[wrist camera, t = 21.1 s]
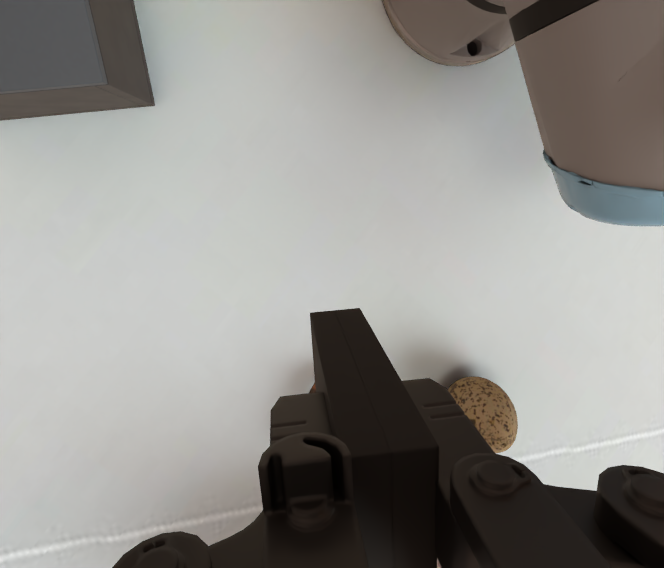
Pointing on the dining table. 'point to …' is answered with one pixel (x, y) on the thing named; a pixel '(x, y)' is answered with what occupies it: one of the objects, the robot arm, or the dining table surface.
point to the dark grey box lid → (48, 46)
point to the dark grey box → (119, 64)
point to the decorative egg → (487, 410)
